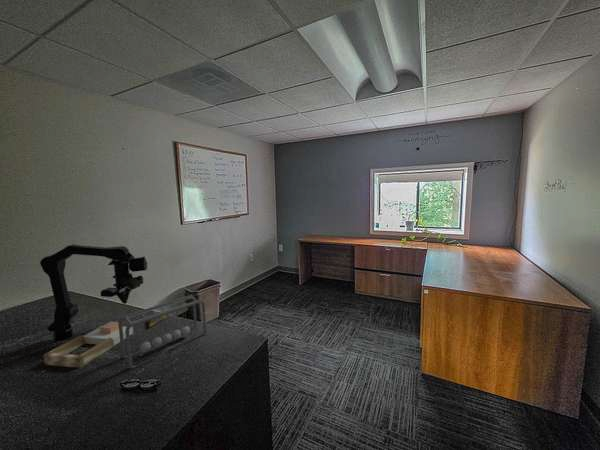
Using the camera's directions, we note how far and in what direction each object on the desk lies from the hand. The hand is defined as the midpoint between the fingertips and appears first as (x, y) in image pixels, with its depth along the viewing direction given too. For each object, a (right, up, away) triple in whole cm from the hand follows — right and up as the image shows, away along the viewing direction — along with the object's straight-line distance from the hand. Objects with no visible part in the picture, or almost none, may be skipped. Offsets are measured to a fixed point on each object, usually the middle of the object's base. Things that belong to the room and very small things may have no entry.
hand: (124, 303), depth 119 cm
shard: (+15, -13, +3) cm, 20 cm away
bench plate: (-1, -13, -9) cm, 16 cm away
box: (-3, -14, -20) cm, 25 cm away
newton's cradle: (+30, -14, -16) cm, 37 cm away
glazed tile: (-1, -10, -7) cm, 12 cm away
